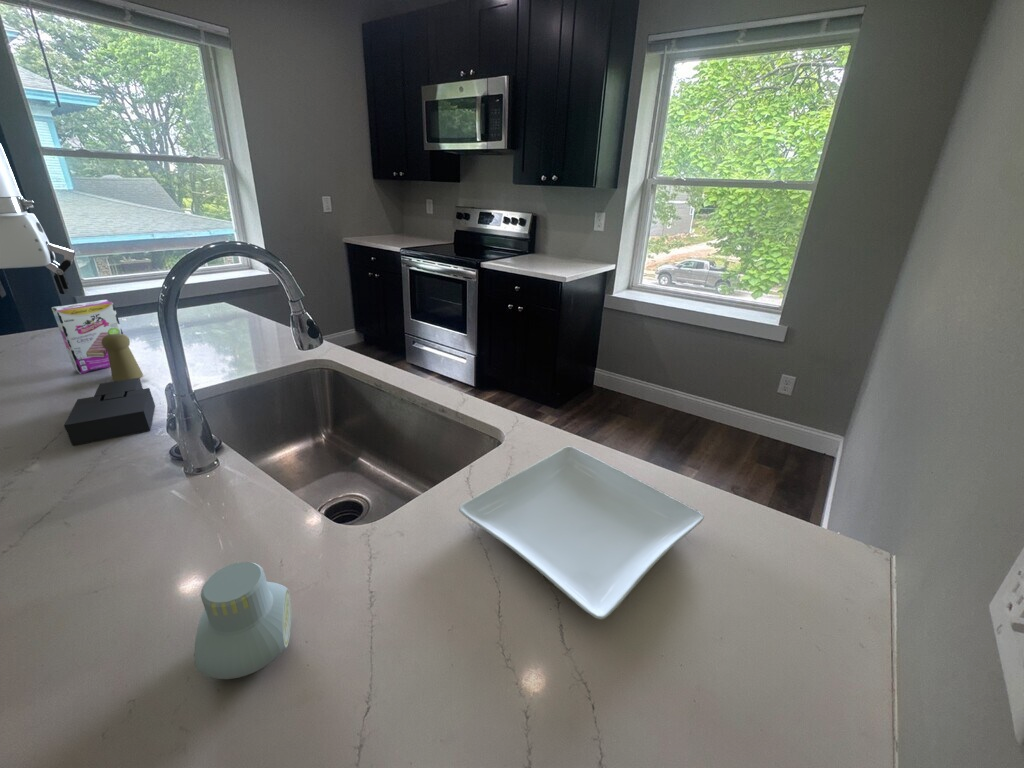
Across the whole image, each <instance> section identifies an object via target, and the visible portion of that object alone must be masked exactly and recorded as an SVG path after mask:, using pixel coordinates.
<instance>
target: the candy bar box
mask: <svg viewBox="0 0 1024 768" xmlns="http://www.w3.org/2000/svg"><path fill="white" fill-rule="evenodd" d="M51 311H52V314H53V316H54V319H55V322H56V324H57V327H58V329H59V332H60V335H61V337H62V340H63V343H64V345H65V348H66V351H67V353H68V356H69V359H70V362H71V364H72V366H73V369H74V371H76V372H77V373H78V374H80V375H82V374H85V373H90V372H94V371H99V370H102V369H107V368H110V362H109V357H108V351H107V349H105V348H104V347H103V346H102V338H104V337H105V336H107V335H111V334H124V332H123V329H122V326H121V323H120V320H119V316H118V314H117V310H116V307H115V304H114V302H112V301H110V300H108V299H100V300H94V301H93V300H92V301H87V302H80V303H72V304H66V305H58V306H52V307H51Z"/></svg>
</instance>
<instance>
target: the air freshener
mask: <svg viewBox="0 0 1024 768" xmlns="http://www.w3.org/2000/svg"><path fill="white" fill-rule="evenodd" d="M200 598H201V602H202V605H203V607H204V609H203V611H202V612H201V613H202V614H201V616H200V619H199V622H198V625H197V630H196V633H195V634H196V635H195V641H194V655H193V656H194V657H193V658H194V666H195V670H197V671H198V672H199V673H200V674H202V675H203V676H206V677H208V678H211V679H218V680H232V679H238V678H242V677H246V676H249V675H251V674H254V673H256V672H258V671H260V670H261V669H264V668H265V667H267V666H269V664H271V663H272V662H273V661H275V660H276V659H277V658H278V657H280V655H281V654H282V653H283V652H284V651H285V650H286V649H287V647H288V645H289V643H290V636H291V627H292V624H291V623H292V604H291V603H292V602H291V601H292V600H291V594H290V590H289V588H288V587H286V586H284V585H282V584H280V583H277V582H274V581H273V582H272V581H268V580H267V578H266V574H265V571H264V569H263V567H262V566H261V565H260V564H258V563H255V562H250V561H240V562H239V561H238V562H234V563H232V564H228V565H226V566H224V567H222V568H220V569H219V570H217V571H216V572H214V573H213V574H212V575H211V576H210V577H209V578H208V579H207V580H206V581H205V583H204V584H203V586H202V588H201V591H200Z"/></svg>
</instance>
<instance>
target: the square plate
mask: <svg viewBox="0 0 1024 768" xmlns="http://www.w3.org/2000/svg"><path fill="white" fill-rule="evenodd" d="M458 512H459V513H460V514H461V515H462V516H464V517H465V518H466V519H468V520H469V521H470V522H472V523H474V525H476V526H478V527H479V528H481V529H482V530H483V531H485V532H487V533H488V534H490V535H491V536H492V537H494V538H495V539H497V540H498V541H500V542H501V543H502V544H503V545H505V546H506V547H508V548H510V549H511V550H512V551H513V552H514V553H516V554H517V555H518V556H519V557H520V558H522V559H523V560H524V561H526V562H527V563H528V564H529V565H530V566H531V567H533V568H534V569H535V570H537V571H538V572H539V573H540V574H541V575H542V576H544V578H546V579H547V580H548V581H549V582H550V583H552V585H554V587H556V588H557V589H559V590H560V592H562V593H563V594H564V595H566V596H567V597H568V598H569V599H570V600H571V601H572V602H574V603H575V604H576V605H577V606H578V607H579V608H581V610H583V611H584V612H586V613H587V614H589V616H591V617H593V618H595V619H597V620H605V619H606V618H608V617H609V616H610V615H611V614H613V613H614V611H615V610H616V609H617V608H618V607H619V606H620V604H622V602H623V601H624V600H625V599H626V597H628V595H629V594H630V593H631V591H633V590H634V588H635V587H636V586H637V585H638V583H639V582H641V580H642V579H643V578H644V577H645V576H646V574H648V572H649V571H650V570H651V569H652V568H653V567H654V566H655V565H656V563H657V562H659V561H660V559H661V558H662V557H664V556H665V555H666V553H668V552H669V551H670V550H672V548H673V547H674V546H676V544H678V543H679V542H680V541H681V540H682V539H684V538H685V537H686V536H688V534H689V533H690V532H692V531H694V529H696V527H697V526H699V525H700V524H701V523H702V522H703V521H704V519H705V515H704V513H703V512H702V511H700V510H698V509H696V508H694V507H692V506H690V505H689V504H688V503H687V504H686V503H685V502H683V501H681V500H679V499H677V498H675V497H673V496H671V495H670V494H667V493H665V492H664V491H662V490H659V489H658V488H656V487H654V486H652V485H650V484H648V483H646V482H644V481H642V480H641V479H639V478H637V477H634V476H633V475H631V474H630V473H628V472H625V471H623V470H621V469H619V468H617V467H615V466H613V465H611V464H609V463H608V462H605V461H603V460H601V459H599V458H598V457H595V456H593V455H592V454H589V453H587V452H585V451H583V450H580V449H579V448H577V447H574V446H572V445H566V446H564V447H563V448H561V449H559V450H557V451H556V452H554V453H552V454H550V455H548V456H546V457H544V458H542V459H541V460H539V461H536V463H535V462H534V463H533V464H532V465H530V466H528V467H527V468H524V469H522V470H521V471H519V472H517V473H516V474H513V475H511V476H510V477H508V478H506V479H504V480H503V481H501V482H499V483H497V484H496V485H494V486H492V487H490V488H488V489H487V490H485V491H482V492H481V493H479V494H477V495H475V496H474V497H472V498H470V499H469V500H467V501H465V502H464V503H462V504H460V505H459V507H458Z"/></svg>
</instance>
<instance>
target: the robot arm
mask: <svg viewBox="0 0 1024 768" xmlns="http://www.w3.org/2000/svg"><path fill="white" fill-rule="evenodd" d="M33 208H36V205H35V202H34V201H33V200H29V199H25V198H24V197H23V196H22V194H21V192H20V189H19V187H18V184H17V181H16V179H15V176H14V173H13V171H12V168H11V166H10V163H9V160H8V158H7V156H6V153H5V150H4V148H3V146H2V143H0V269H1V270H2V269H19V268H21V269H22V268H37V267H38V268H39V267H46V268H47V269H49V270H50V271H52V272H53V273H54V275H53V279H54V282H55V284H56V286H57V289H58V292H59V294H61V295H66V294H67V293H68V291H69V290H70V289H71V288H70V287H71V286H70V283H69V280H68V278H67V275H66V272H67V270H68V269H69V268H70V266H72V264H73V261H74V258H75V255H76V252H75V251H74V250H72V249H69V248H66V247H63V246H59V245H57V244H53V243H50V240H49V238H48V236H47V234H46V232H45V229H44V228H43V226H42V225H41V223H40V221H39V220H38V218H37V216H36V215H35V214H34V213H32V212H28V211H29V209H33ZM55 254H59V255H62V256H63V257H64V258H63V261H62V262H61V263H58V262H57V261H56V255H55ZM6 296H7V293H6V291H5V289H4V285H3V283H2V282H1V280H0V300H1V299H3V298H5V297H6Z"/></svg>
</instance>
